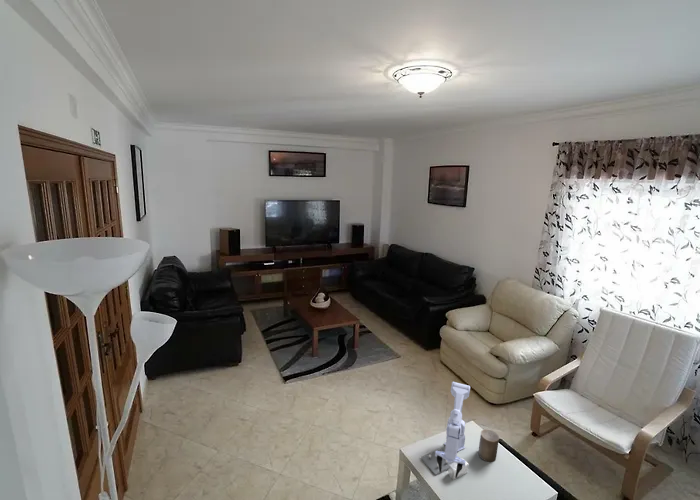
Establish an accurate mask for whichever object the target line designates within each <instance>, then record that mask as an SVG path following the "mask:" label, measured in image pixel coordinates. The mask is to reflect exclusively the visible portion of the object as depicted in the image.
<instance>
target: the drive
mask: <svg viewBox="0 0 700 500" xmlns="http://www.w3.org/2000/svg"><path fill="white" fill-rule="evenodd" d="M462 459H463V460H465V459H464V458H462ZM457 464H458V463H454V462H453V463H452V464H450V465H449V469H448V470H447V474H448V476H449V477H450V478H451V479H452V480H456V479H458V478H460V477H461V476H464V475H466V474H468V471H469V465H470V464H469V463H468V461H466V463H465V466H463V467H462V469H461V471H460V472H459V473H458V475H457V478H455V475H456V470H457Z"/></svg>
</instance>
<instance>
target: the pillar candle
mask: <svg viewBox="0 0 700 500" xmlns="http://www.w3.org/2000/svg"><path fill="white" fill-rule="evenodd" d="M499 441H500V436H499V434H498V433H497V432H496V431H495V430H492V429H490V428H483V429H482V430H481V431H480V437H479V444H478V451H477V452H478V456H479V457H480V459H482V460H483V461H484V462H488V463H493V462H495V461H496V459H497V455H498V449H499V448H498V447H499Z"/></svg>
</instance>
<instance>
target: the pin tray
mask: <svg viewBox="0 0 700 500" xmlns="http://www.w3.org/2000/svg"><path fill="white" fill-rule="evenodd" d="M436 451H441V452H444V451H443V450H442V449H441V448H440V449H437V450H435V451H433V452H429V453H428V454H426V455H423V456H421V458H420V459H421V461H422V462H423V463H424V464H425V466H426V467H427V468H428V469H429V470H430V471H431V473H433V474H432V475H434V476H438V475H440V474H442V473H444V472H446V471H448V469H449V465H450V464H452V463H454V462H452V463H449V462H447V460H445V459H444V458H443V459H442V469H441V472H439V465H438V462H437V457H436V456H435V452H436Z"/></svg>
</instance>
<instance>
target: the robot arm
mask: <svg viewBox="0 0 700 500" xmlns="http://www.w3.org/2000/svg"><path fill="white" fill-rule="evenodd" d="M470 392H471V386H470V385H467V384H465V383H460V382H456V381H451V386H450V393H451V396H453V397H454V401H453V409H452V410H451V411H450V415H449V417H448V418H447V424H446V435H445V439H446V441H445V442H444V443H443V445H444V446H445V449H444V451H443V452H441V451H437V450H435V451H436V452H435V451H434V452H435V456H436V457H437V462H438V465H439V472H441V469H442V459H443V458H444V459H445V460H447V462H449V463H452V462H453V463H458V464H457V470H456V475H455V478H456V479H458V478H457V475H458V473H459V472H460V471H461V469H462V467H463V466H465V463H466V462H467V460H466V459H464V458H461V457H459V456H458V452H460V451H461V450H465V449H466V446H465V444H466V442H465V441H466V435H465V429H466V421H464V420H463V412H462V411H463V404H464V400H465V401H466V400H467V399H468V398H469V397H470ZM463 459H464V460H463Z"/></svg>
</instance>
